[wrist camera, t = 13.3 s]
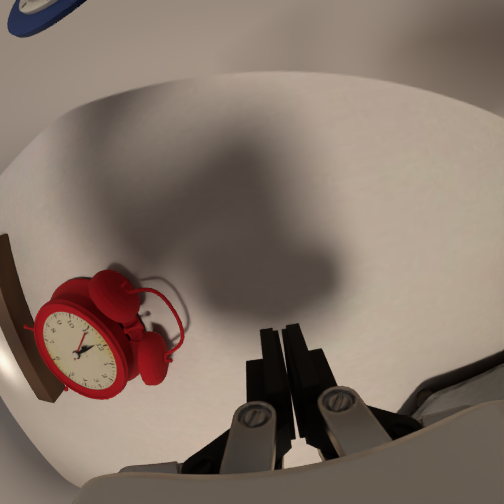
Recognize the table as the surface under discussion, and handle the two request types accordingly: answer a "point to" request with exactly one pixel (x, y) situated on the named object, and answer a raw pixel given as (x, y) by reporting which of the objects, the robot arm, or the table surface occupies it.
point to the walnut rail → (23, 330)
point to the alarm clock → (100, 336)
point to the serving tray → (463, 393)
